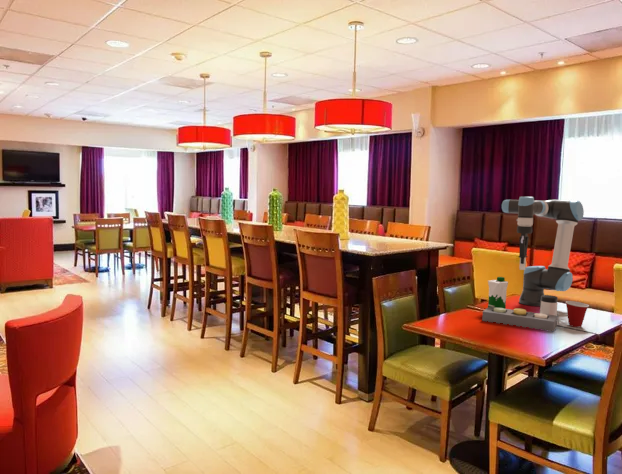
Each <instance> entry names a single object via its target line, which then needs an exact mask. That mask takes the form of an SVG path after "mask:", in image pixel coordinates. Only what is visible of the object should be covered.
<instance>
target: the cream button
mask: <svg viewBox="0 0 622 474" xmlns="http://www.w3.org/2000/svg"><path fill="white" fill-rule="evenodd" d="M534 313H535V314H534V317H536V318H543V319H547V315H546V314H542V313H540V312H534Z"/></svg>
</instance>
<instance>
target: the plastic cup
mask: <svg viewBox="0 0 622 474" xmlns="http://www.w3.org/2000/svg"><path fill="white" fill-rule="evenodd" d="M565 304H566V312H567V321H568V325H569V326H570V327H573V328H581V327H582V326H583V322H584V321H585V316H586V312H587V311H588V308H589V307H590V305H589V304H587V303H584V302H579V301H574V300H566V301H565Z"/></svg>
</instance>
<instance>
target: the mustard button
mask: <svg viewBox="0 0 622 474" xmlns="http://www.w3.org/2000/svg"><path fill="white" fill-rule="evenodd" d="M513 310H514V314H517V315H526V312H527V309H524V308H519V307H518V308H514V309H513Z"/></svg>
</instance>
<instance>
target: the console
mask: <svg viewBox="0 0 622 474" xmlns="http://www.w3.org/2000/svg"><path fill="white" fill-rule="evenodd" d="M494 308H497V307H488V306H487V308H485V309H484V310H482V318H481V319H482V322H487V321H488V323H493V322H496V323H495V324H500V323H503V324H502V325H507V324H509V326H513V325H516V326H515V327H520V326H522V327H521V328H526V327H529V328H528V329H533V328H535V329H534V330H539V329H542V330H541V331H546V330H548V332H552V331H555V329H556V328H557V327H558V317H559V316H558V315H557V316H555V315H548V314H546V315H547V319H543V318H536V317H534V314H535V313H536V312H533V311H526V315H517V314H514V309H510V308H506V313H501V312H494Z"/></svg>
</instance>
